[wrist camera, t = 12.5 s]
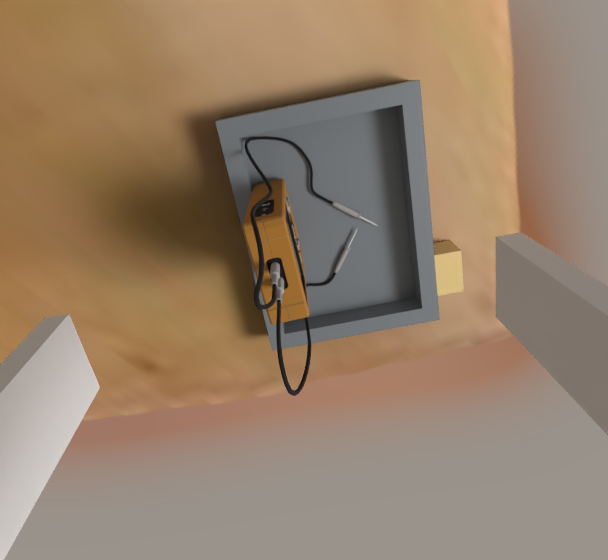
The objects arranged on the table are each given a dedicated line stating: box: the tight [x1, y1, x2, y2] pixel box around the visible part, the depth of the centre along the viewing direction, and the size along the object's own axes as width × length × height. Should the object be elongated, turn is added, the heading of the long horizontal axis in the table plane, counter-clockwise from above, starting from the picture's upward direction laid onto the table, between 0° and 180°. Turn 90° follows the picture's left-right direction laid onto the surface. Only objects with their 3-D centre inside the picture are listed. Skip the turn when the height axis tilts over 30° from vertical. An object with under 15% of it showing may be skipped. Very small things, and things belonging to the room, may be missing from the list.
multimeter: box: [242, 137, 378, 396], centre depth 32 cm, size 15×10×20 cm
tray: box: [215, 80, 464, 350], centre depth 41 cm, size 18×21×3 cm
